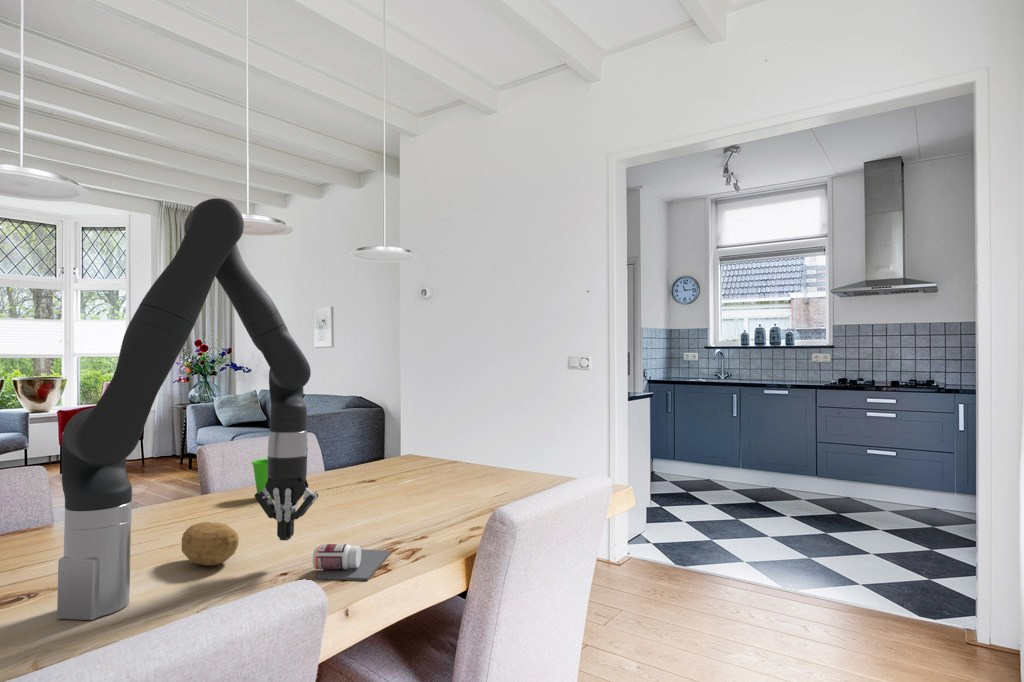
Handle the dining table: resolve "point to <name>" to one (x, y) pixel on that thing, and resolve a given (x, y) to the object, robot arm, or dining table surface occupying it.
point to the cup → (260, 473)
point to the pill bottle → (336, 556)
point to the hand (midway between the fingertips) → (285, 539)
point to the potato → (209, 543)
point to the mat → (365, 570)
